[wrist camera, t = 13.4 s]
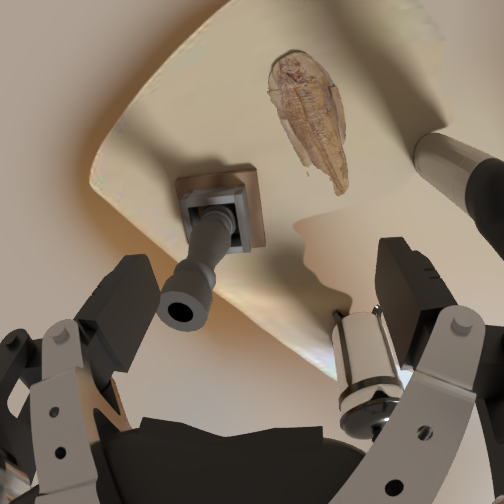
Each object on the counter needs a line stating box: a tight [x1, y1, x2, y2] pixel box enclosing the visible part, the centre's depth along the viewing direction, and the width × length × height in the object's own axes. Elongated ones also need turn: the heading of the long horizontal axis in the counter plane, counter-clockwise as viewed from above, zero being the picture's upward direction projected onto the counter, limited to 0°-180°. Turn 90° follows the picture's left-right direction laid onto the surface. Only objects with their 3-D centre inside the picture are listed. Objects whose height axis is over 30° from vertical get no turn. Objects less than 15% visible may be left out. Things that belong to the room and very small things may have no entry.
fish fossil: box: [267, 52, 349, 196], centre depth 44 cm, size 26×10×1 cm, turn 26°
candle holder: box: [156, 203, 238, 332], centre depth 41 cm, size 6×6×25 cm
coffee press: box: [332, 305, 404, 443], centre depth 52 cm, size 17×16×30 cm
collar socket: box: [174, 169, 266, 254], centre depth 50 cm, size 14×14×6 cm
